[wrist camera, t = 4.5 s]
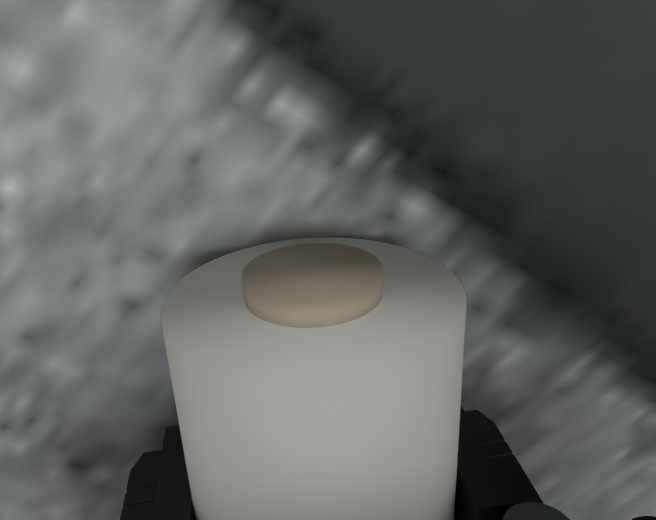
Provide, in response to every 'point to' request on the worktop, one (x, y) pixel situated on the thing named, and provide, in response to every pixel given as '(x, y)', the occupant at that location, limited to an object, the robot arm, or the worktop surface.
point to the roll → (318, 381)
